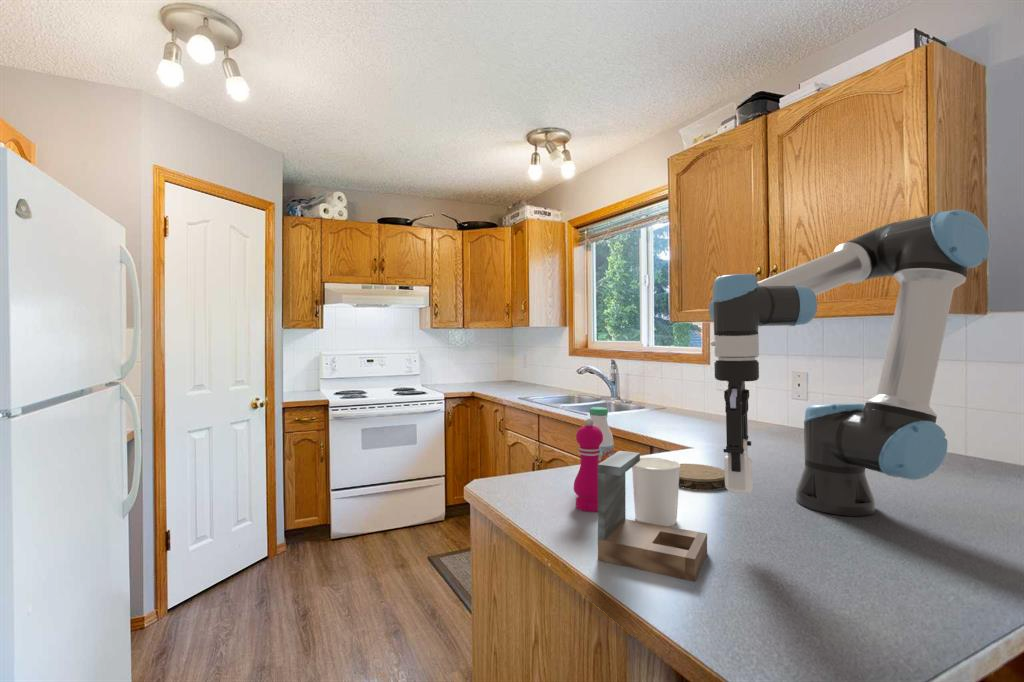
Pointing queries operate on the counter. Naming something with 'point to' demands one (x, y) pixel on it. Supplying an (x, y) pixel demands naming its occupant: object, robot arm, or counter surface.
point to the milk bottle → (603, 431)
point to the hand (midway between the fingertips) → (738, 484)
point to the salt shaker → (747, 473)
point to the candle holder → (656, 490)
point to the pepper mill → (588, 467)
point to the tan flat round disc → (701, 477)
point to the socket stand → (641, 530)
